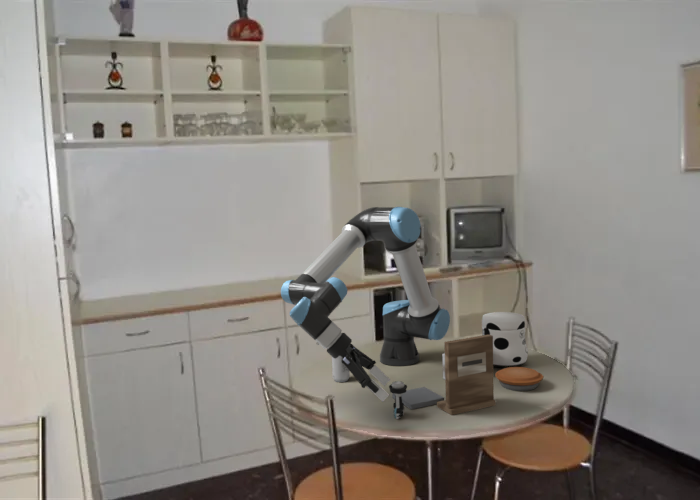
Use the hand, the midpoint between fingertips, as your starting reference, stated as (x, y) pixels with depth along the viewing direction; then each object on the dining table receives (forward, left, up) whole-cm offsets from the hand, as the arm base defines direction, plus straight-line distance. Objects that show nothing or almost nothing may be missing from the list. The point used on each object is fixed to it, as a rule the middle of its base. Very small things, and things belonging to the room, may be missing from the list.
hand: (386, 390), depth 184 cm
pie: (-3, +51, -9) cm, 52 cm away
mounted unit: (+4, +25, -8) cm, 27 cm away
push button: (+1, +3, -9) cm, 9 cm away
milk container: (-25, +62, -9) cm, 68 cm away
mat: (-8, +15, -8) cm, 19 cm away
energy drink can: (-39, +2, -9) cm, 40 cm away
